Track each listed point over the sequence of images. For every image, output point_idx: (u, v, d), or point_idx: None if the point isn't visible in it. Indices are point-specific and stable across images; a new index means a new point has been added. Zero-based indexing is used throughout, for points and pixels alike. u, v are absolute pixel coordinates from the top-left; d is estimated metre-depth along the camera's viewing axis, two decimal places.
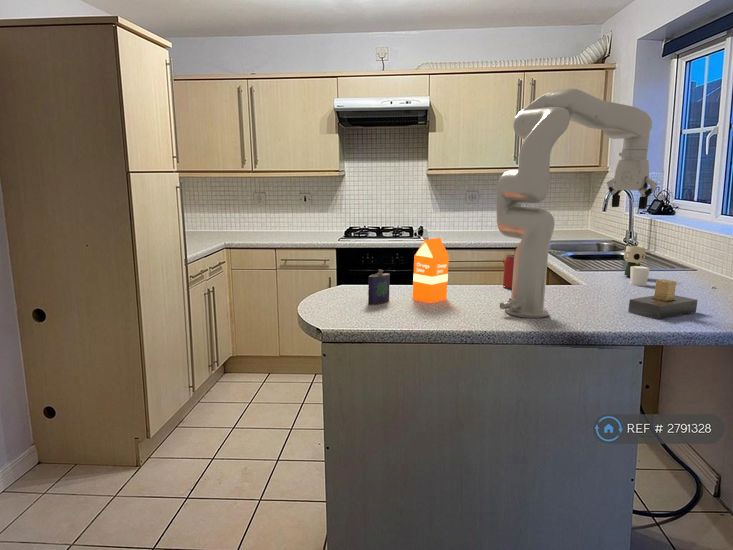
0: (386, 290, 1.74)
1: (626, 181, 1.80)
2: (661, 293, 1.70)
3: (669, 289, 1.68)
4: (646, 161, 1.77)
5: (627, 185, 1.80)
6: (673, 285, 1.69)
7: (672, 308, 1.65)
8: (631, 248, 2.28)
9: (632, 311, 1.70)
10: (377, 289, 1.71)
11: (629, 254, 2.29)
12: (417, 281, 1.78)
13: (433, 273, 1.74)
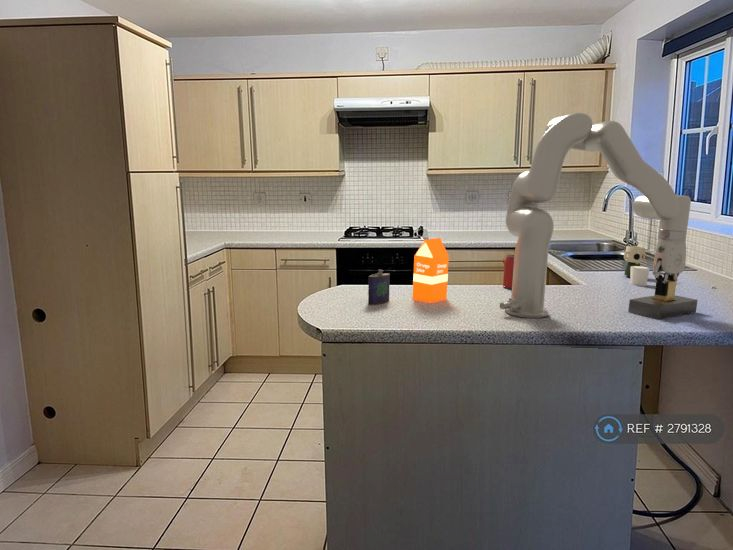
0: (386, 290, 1.74)
1: (677, 264, 1.67)
2: None
3: (669, 289, 1.68)
4: None
5: (678, 268, 1.67)
6: (673, 285, 1.69)
7: (672, 308, 1.65)
8: (631, 248, 2.28)
9: (632, 311, 1.70)
10: (377, 289, 1.71)
11: (629, 254, 2.29)
12: (417, 281, 1.78)
13: (433, 273, 1.74)
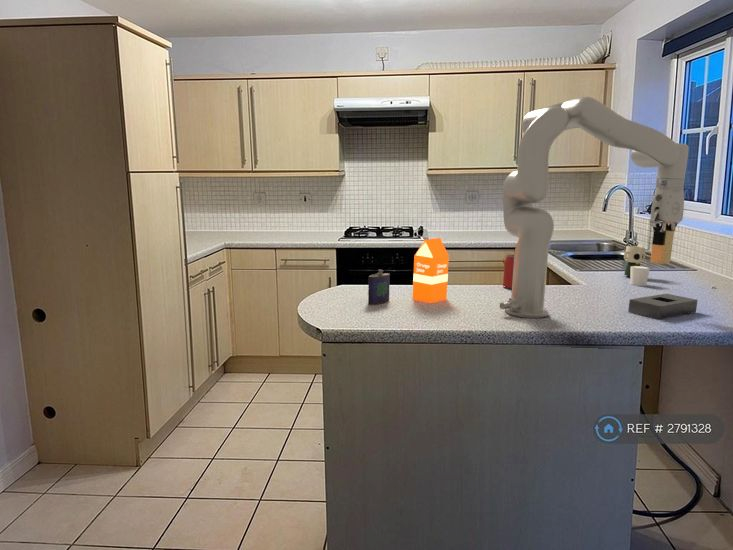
0: (386, 290, 1.74)
1: (675, 213, 1.67)
2: None
3: (667, 238, 1.68)
4: None
5: (675, 217, 1.67)
6: (670, 234, 1.69)
7: (672, 308, 1.65)
8: (631, 248, 2.28)
9: (632, 311, 1.70)
10: (377, 289, 1.71)
11: (629, 254, 2.29)
12: (417, 281, 1.78)
13: (433, 273, 1.74)
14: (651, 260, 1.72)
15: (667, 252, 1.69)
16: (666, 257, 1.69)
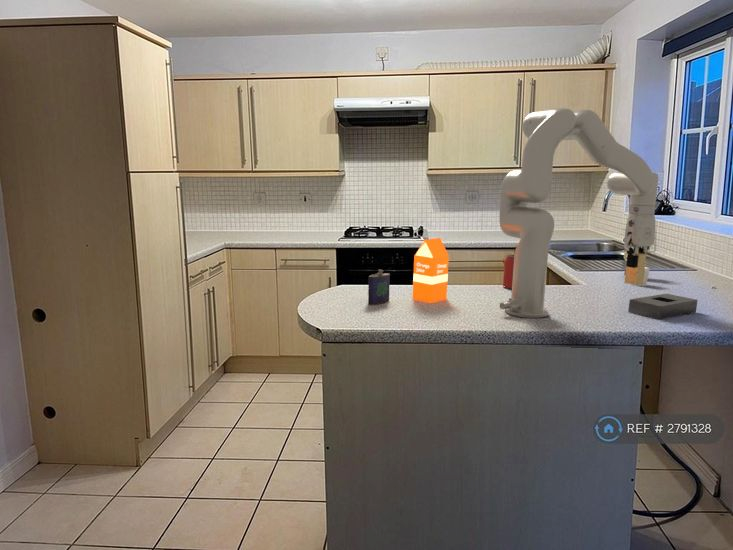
0: (386, 290, 1.74)
1: (646, 237, 1.77)
2: None
3: (639, 261, 1.78)
4: None
5: (647, 241, 1.77)
6: (643, 257, 1.79)
7: (672, 308, 1.65)
8: None
9: (632, 311, 1.70)
10: (377, 289, 1.71)
11: None
12: (417, 281, 1.78)
13: (433, 273, 1.74)
14: (625, 281, 1.82)
15: (640, 274, 1.79)
16: (639, 279, 1.79)
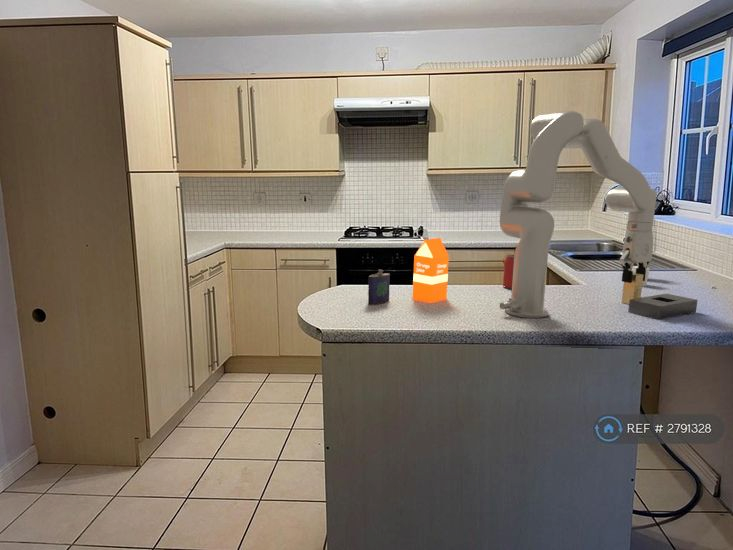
0: (386, 290, 1.74)
1: (644, 254, 1.77)
2: (629, 285, 1.81)
3: (636, 281, 1.79)
4: None
5: (645, 257, 1.78)
6: (640, 277, 1.80)
7: (672, 308, 1.65)
8: None
9: (632, 311, 1.70)
10: (377, 289, 1.71)
11: None
12: (417, 281, 1.78)
13: (433, 273, 1.74)
14: (622, 301, 1.83)
15: (637, 294, 1.80)
16: None
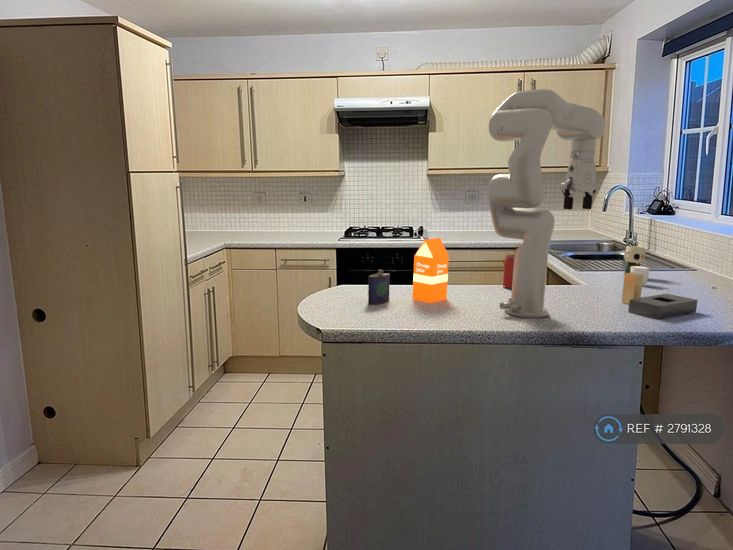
0: (386, 290, 1.74)
1: (587, 183, 1.81)
2: (629, 285, 1.81)
3: (636, 281, 1.79)
4: None
5: (587, 187, 1.82)
6: (640, 277, 1.80)
7: (672, 308, 1.65)
8: (631, 248, 2.28)
9: (632, 311, 1.70)
10: (377, 289, 1.71)
11: (629, 254, 2.29)
12: (417, 281, 1.78)
13: (433, 273, 1.74)
14: (622, 301, 1.83)
15: (636, 294, 1.80)
16: None
